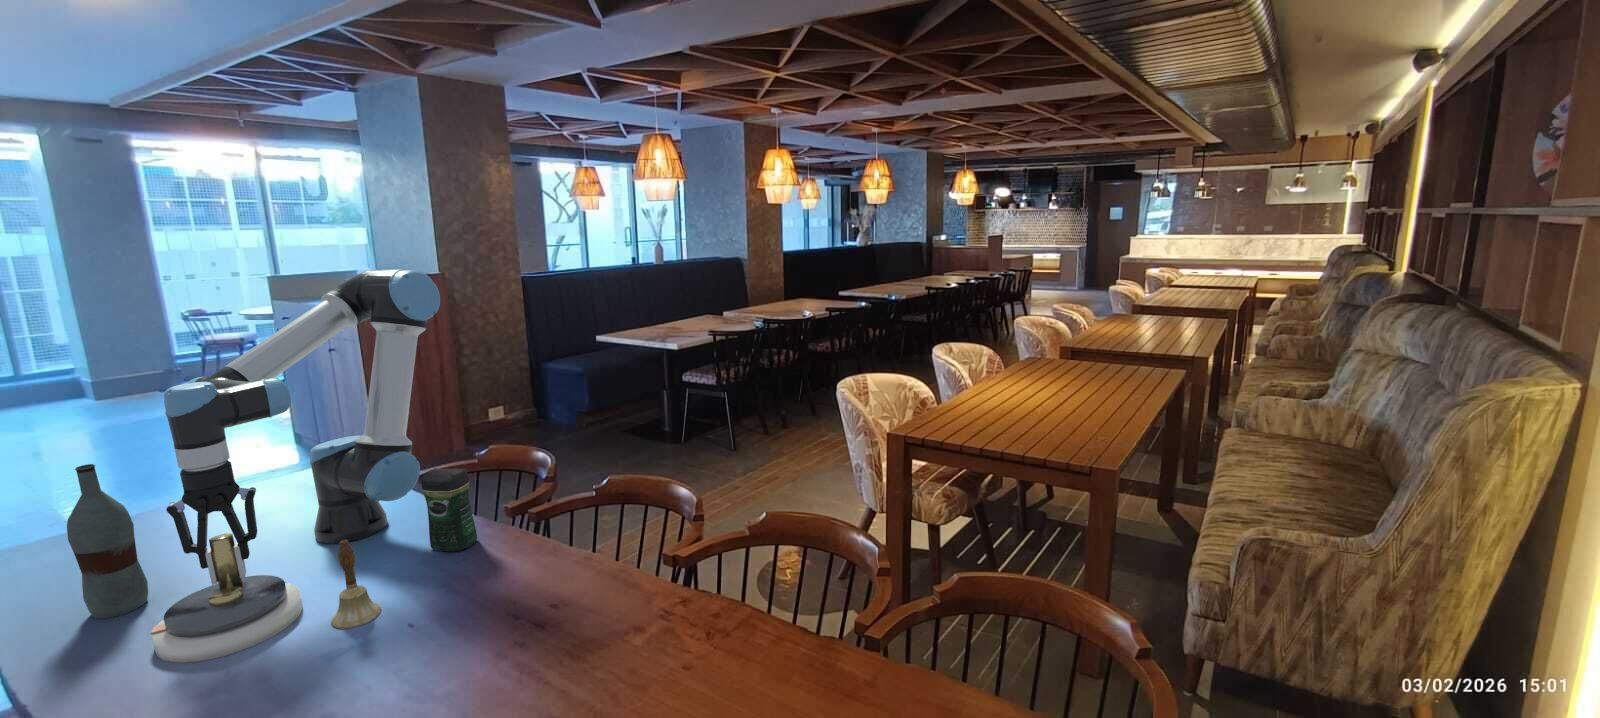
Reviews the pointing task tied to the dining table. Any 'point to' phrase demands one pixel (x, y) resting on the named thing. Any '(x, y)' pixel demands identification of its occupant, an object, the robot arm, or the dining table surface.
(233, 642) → the wheel base
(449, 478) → the coffee jar
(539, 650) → the dining table surface
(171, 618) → the handwheel
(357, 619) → the hand bell
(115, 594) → the bottle
